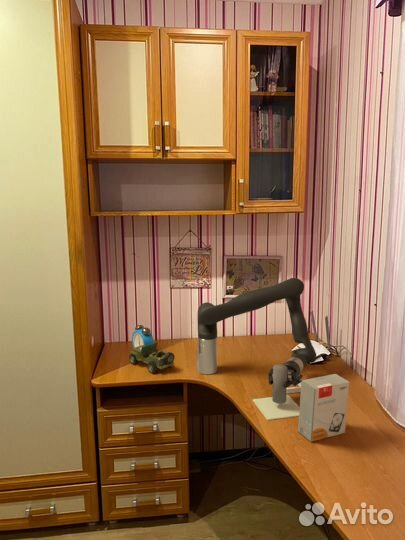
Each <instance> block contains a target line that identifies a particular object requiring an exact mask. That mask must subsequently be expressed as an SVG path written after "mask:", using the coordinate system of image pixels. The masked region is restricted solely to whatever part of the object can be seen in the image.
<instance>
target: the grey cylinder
mask: <svg viewBox="0 0 405 540" xmlns="http://www.w3.org/2000/svg"><path fill="white" fill-rule="evenodd" d="M272 369H273V384H272V392H271V393H272V395H271V397H272V401H273V402H275V403H278V404H283V403H285V402H286V395H288V394H287V388H284V383H285V382H286V381H287V367H286V366H285V365H283V364H274V365H273V366H272Z"/></svg>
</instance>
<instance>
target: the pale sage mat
mask: <svg viewBox="0 0 405 540" xmlns="http://www.w3.org/2000/svg"><path fill="white" fill-rule="evenodd" d="M252 402H253V403H254V404H255V406H256V407H257V409H259V411H260V412H261V414H262V415H263V417H264V418H265V419H266V421H273V420H275V421H276V420H281V419H289V418H296V417H299V413H300V405H298V404H297V402H296V401H295V400H294V399H293V398H292V397H291V396H290V395H288V394H286V402H285V403H283V404H278V403H275V402H273V401H272V396H269V397H261V398H253V399H252Z"/></svg>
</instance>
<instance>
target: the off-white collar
mask: <svg viewBox="0 0 405 540" xmlns="http://www.w3.org/2000/svg"><path fill="white" fill-rule="evenodd" d="M294 393H295V394H297V393H301V383H299V384H298V385H297V386H292V387H288V388H287V394H286V395H288V394H294Z"/></svg>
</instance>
